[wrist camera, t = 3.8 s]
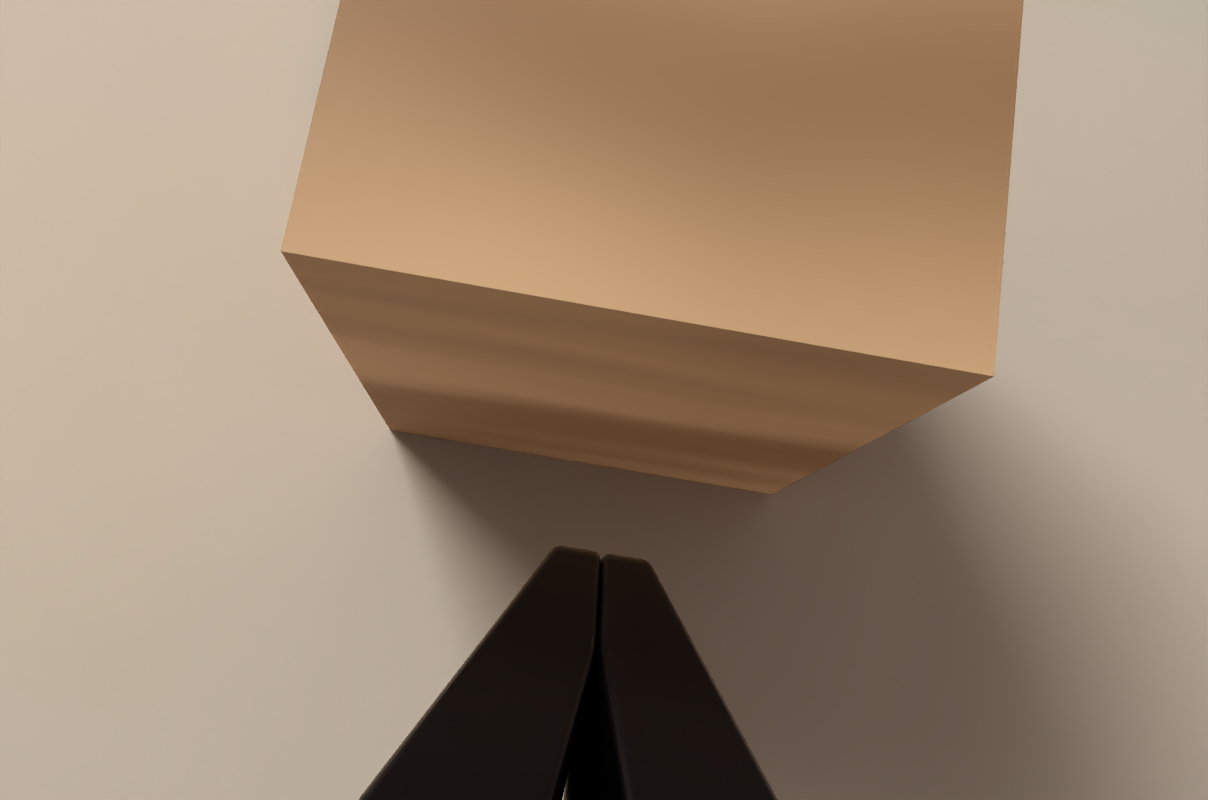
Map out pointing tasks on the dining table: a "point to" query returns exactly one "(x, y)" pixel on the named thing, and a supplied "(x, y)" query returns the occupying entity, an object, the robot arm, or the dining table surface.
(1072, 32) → the dining table surface
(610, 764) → the robot arm
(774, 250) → the wooden block
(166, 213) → the dining table surface
